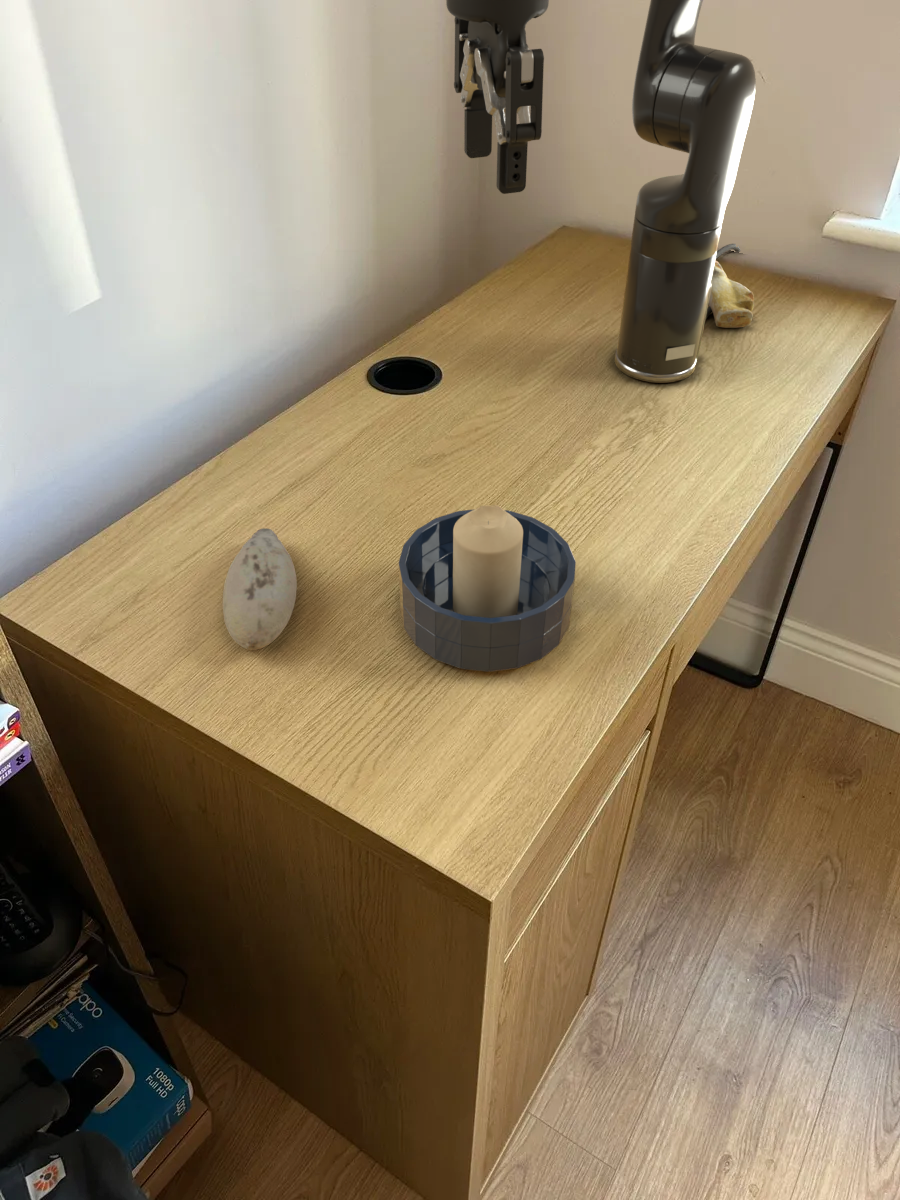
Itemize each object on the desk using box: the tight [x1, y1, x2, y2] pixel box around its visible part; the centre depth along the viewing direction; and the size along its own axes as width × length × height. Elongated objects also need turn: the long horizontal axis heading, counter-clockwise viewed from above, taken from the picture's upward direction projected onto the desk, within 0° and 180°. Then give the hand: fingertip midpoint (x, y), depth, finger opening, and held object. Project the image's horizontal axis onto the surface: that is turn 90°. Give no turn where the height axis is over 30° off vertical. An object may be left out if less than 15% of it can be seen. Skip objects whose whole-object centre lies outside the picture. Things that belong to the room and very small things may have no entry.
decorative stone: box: [222, 527, 298, 651], centre depth 82 cm, size 6×16×3 cm, turn 7°
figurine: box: [708, 259, 755, 329], centre depth 125 cm, size 5×5×15 cm
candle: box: [453, 504, 523, 618], centre depth 78 cm, size 6×6×10 cm
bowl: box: [398, 508, 577, 673], centre depth 80 cm, size 14×14×6 cm
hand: (493, 173), depth 79 cm, fingers open, 8 cm apart
